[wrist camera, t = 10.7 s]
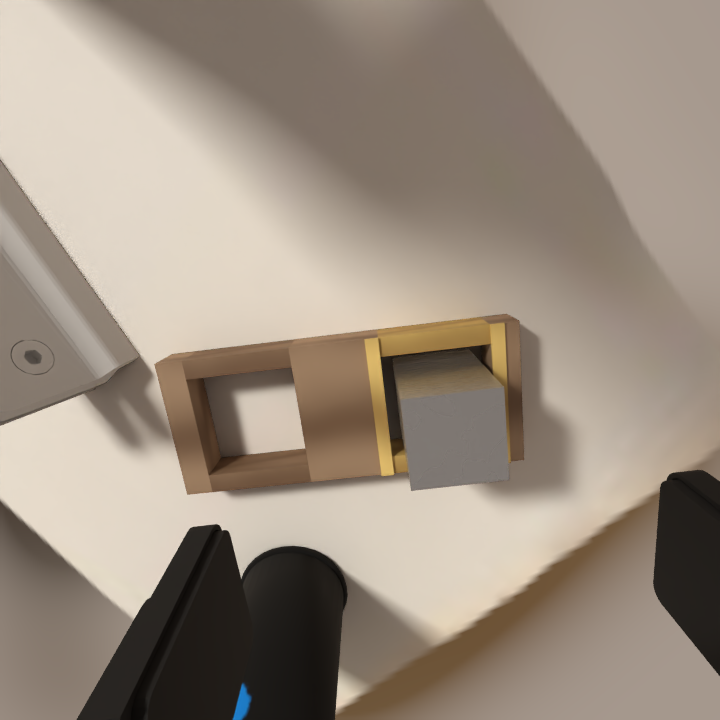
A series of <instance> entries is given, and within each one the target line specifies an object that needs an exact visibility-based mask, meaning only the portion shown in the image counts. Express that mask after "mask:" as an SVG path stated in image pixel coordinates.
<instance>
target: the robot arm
mask: <svg viewBox="0 0 720 720" xmlns="http://www.w3.org/2000/svg"><path fill="white" fill-rule="evenodd" d="M657 527H658V528H657V539H656V553H655V567H654V580H653V584H654V590H655V593H656V595H657V597H658V599H659V600H660V602H661V604H662V605H663V606H664V607H665V609H666V610H667V611H668V612H669V614H670V615H671V616H672V617H673V619H674V620H675V621H676V622H677V624H678V625H679V626H680V627H681V628H682V630H683V631H684V632H685V634H686V635H687V636H688V637H689V638H690V640H691V641H692V642H693V643H694V645H695V646H696V647H697V648H698V650H699V651H700V652H701V653H702V654H703V656H704V657H705V658H706V660H707V661H708V662H709V663H710V665H711V666H712V667H713V668H714V669H715V671H716V672H717V673H718V674H719V676H720V481H718V480H717V479H715V478H714V477H713V476H711V475H710V474H708V473H707V472H705V471H703V470H694V471H685V472H676V473H672V474H670V475H669V476H668V477H667V481H664V482H662V484H661V487H660V500H659V512H658V526H657ZM252 643H253V625H252V621H251V617H250V613H249V609H248V605H247V601H246V597H245V593H244V589H243V585H242V581H241V577H240V573H239V569H238V565H237V561H236V557H235V553H234V549H233V545H232V541H231V537H230V534H229V532H228V531H227V530H223V531H222V529H221V527H220V526H219V525H217V524H215V525H206V526H197V527H192V528H190V529H189V531H188V532H187V534H186V536H185V538H184V539H183V541H182V543H181V545H180V546H179V548H178V550H177V552H176V553H175V555H174V557H173V559H172V561H171V562H170V564H169V566H168V568H167V569H166V571H165V573H164V575H163V576H162V578H161V580H160V582H159V584H158V585H157V587H156V589H155V591H154V592H153V594H152V596H151V598H149V599H148V600H146V601H145V603H144V604H143V606H142V607H141V609H140V610H139V612H138V614H137V616H136V617H135V619H134V621H133V623H132V624H131V626H130V628H129V629H128V631H127V633H126V635H125V636H124V638H123V640H122V642H121V644H120V645H119V647H118V649H117V650H116V653H115V654H114V656H113V657H112V659H111V661H110V663H109V664H108V666H107V668H106V669H105V671H104V673H103V675H102V677H101V678H100V680H99V682H98V683H97V685H96V687H95V689H94V691H93V692H92V694H91V696H90V697H89V699H88V701H87V703H86V704H85V706H84V708H83V710H82V711H81V713H80V715H79V716H78V718H77V720H233V718H234V714H235V710H236V706H237V702H238V698H239V694H240V690H241V686H242V682H243V679H244V675H245V671H246V667H247V663H248V659H249V655H250V651H251V647H252Z"/></svg>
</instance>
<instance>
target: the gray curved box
mask: <svg viewBox="0 0 720 720" xmlns="http://www.w3.org/2000/svg"><path fill="white" fill-rule="evenodd" d="M138 357H139V354H138V353H137V351H136V350H135V349H134V347H133V346H132V344H131V343H130V342H129V340H128V339H127V337H126V336H125V335H124V333H123V332H122V330H121V329H120V328H119V326H118V325H117V323H116V322H115V321H114V319H113V318H112V316H111V315H110V314H109V312H108V311H107V309H106V308H105V307H104V305H103V304H102V302H101V301H100V300H99V298H98V297H97V295H96V294H95V293H94V291H93V290H92V288H91V287H90V286H89V284H88V283H87V281H86V280H85V279H84V277H83V276H82V274H81V273H80V272H79V270H78V269H77V267H76V266H75V264H74V263H73V262H72V260H71V259H70V257H69V256H68V255H67V253H66V252H65V250H64V249H63V248H62V246H61V245H60V243H59V242H58V241H57V239H56V238H55V236H54V235H53V234H52V232H51V231H50V229H49V228H48V227H47V225H46V224H45V222H44V221H43V220H42V218H41V217H40V215H39V214H38V213H37V211H36V210H35V208H34V207H33V206H32V204H31V203H30V201H29V200H28V199H27V197H26V196H25V194H24V193H23V192H22V190H21V189H20V187H19V186H18V185H17V183H16V182H15V180H14V179H13V178H12V176H11V175H10V173H9V172H8V171H7V169H6V168H5V166H4V165H3V164H2V162H1V161H0V426H1V425H4V424H6V423H9V422H11V421H14V420H16V419H19V418H22V417H24V416H27V415H29V414H32V413H35V412H37V411H40V410H42V409H45V408H48V407H50V406H53V405H55V404H58V403H61V402H63V401H66V400H68V399H71V398H73V397H76V396H79V395H81V394H84V393H86V392H89V391H92V390H94V389H96V388H95V386H98V385H101V384H103V383H106V382H107V381H108V380H109V379H110V378H111V377H112V376H113V375H114V373H115V372H116V371H117V370H118V369H119V368H121V367H123V366H125V365H127V364H129V363H130V362H132V361H134V360H136V359H137V358H138Z"/></svg>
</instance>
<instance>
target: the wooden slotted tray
mask: <svg viewBox="0 0 720 720" xmlns="http://www.w3.org/2000/svg"><path fill="white" fill-rule="evenodd" d="M479 345H481V350H482V364H483V365H484V366H485V367H486V368H487V369H488V370H489V371H490V372H491V374H492V375H493V376H494V377H495V378H496V379H497V380H498V381H499V382H500V383H501V384H502V385H503V386H504V394H505V411H506V429H507V447H508V463H511V461H518V460H524V443H523V415H522V386H521V358H520V329H519V320H517V319H515V318H513V317H511V316H509V315H507V314H502V315H494V316H486V317H477V318H469V319H461V320H452V321H444V322H436V323H427V324H419V325H411V326H403V327H394V328H386V329H378V330H369V331H361V332H353V333H344V334H336V335H328V336H319V337H311V338H303V339H294V340H286V341H278V342H270V343H261V344H253V345H245V346H236V347H228V348H220V349H211V350H203V351H195V352H186V353H178V354H172V355H170V356H168V357H166V358H165V359H163V360H161V361H159V362H157V363H156V364H154V365H155V369H156V372H157V376H158V380H159V384H160V388H161V392H162V396H163V400H164V404H165V408H166V412H167V416H168V420H169V424H170V428H171V432H172V436H173V440H174V443H175V447H176V451H177V455H178V459H179V463H180V467H181V471H182V475H183V479H184V483H185V487H186V491H187V495H188V494H198V493H208V492H218V491H227V490H237V489H247V488H256V487H266V486H276V485H285V484H295V483H305V482H314V481H324V480H334V479H343V478H353V477H363V476H372V475H382V476H388V475H394V473H402V472H408V469H407V463H406V457H405V451H404V445H403V439H402V438H400V439H391V440H390V434H389V426H388V417H387V409H386V400H385V392H384V383H383V375H382V366H381V358H380V357H385V356H393V355H402V354H410V353H419V352H427V351H436V350H444V349H453V348H461V347H470V346H479ZM291 367H292V372H293V378H294V384H295V390H296V395H297V401H298V407H299V413H300V419H301V425H302V430H303V436H304V442H305V448H306V449H298V450H288V451H279V452H270V453H260V454H251V455H242V456H232V457H223V458H221V455H220V451H219V446H218V442H217V437H216V433H215V429H214V424H213V420H212V415H211V411H210V406H209V402H208V398H207V393H206V389H205V384H204V380H203V378H205V377H214V376H222V375H231V374H239V373H248V372H256V371H265V370H273V369H282V368H291Z"/></svg>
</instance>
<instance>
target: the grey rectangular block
mask: <svg viewBox="0 0 720 720" xmlns="http://www.w3.org/2000/svg"><path fill="white" fill-rule="evenodd" d="M392 362H393V370H394V378H395V386H396V394H397V403H398V411H399V419H400V427H401V433H402V439H403V445H404V451H405V457H406V463H407V469H408V475H409V481H410V486H411V491H414V490H423V489H432V488H441V487H450V486H459V485H468V484H477V483H486V482H495V481H504V480H509V464H508V447H507V429H506V411H505V394H504V386H503V385H502V384H501V383H500V382H499V381H498V380H497V379H496V378H495V377H494V376H493V375H492V374H491V372H490V371H489V370H488V369H487V368H486V367H485V366H484V365H483V364H482V363H481V362H480V361H479V360H478V358H477V357H476V356H475V355H474V354H473V353H472V352H471V351H470V350H469V349H468V348H467V349H459V350H452V351H444V352H436V353H428V354H420V355H412V356H404V357H396V358H392Z"/></svg>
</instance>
